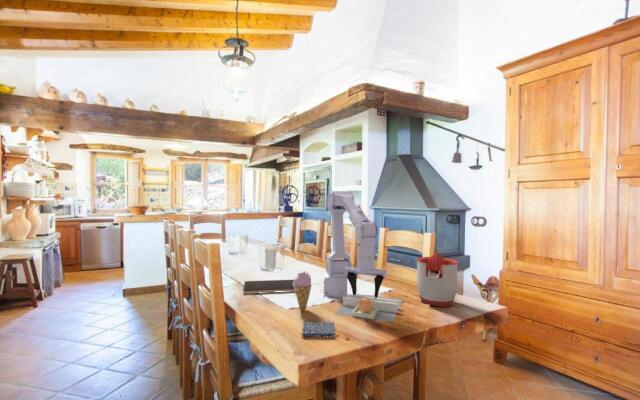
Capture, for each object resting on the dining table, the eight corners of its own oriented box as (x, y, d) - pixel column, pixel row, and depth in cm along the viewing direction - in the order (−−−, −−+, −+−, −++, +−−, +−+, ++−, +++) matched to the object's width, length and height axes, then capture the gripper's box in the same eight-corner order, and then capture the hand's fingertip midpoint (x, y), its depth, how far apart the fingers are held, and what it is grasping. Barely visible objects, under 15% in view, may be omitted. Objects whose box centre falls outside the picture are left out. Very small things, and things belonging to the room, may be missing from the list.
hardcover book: (297, 293, 141) (297, 288, 141) (243, 295, 137) (243, 290, 137) (293, 284, 157) (293, 279, 157) (244, 285, 153) (244, 280, 153)
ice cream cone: (296, 316, 111) (296, 273, 111) (289, 311, 117) (290, 269, 117) (313, 313, 115) (314, 271, 115) (306, 308, 120) (306, 268, 120)
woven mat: (334, 326, 105) (334, 320, 105) (336, 340, 94) (336, 333, 94) (302, 326, 104) (302, 320, 104) (300, 340, 94) (300, 333, 94)
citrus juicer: (411, 306, 124) (411, 254, 124) (420, 294, 139) (420, 248, 139) (455, 313, 116) (456, 257, 116) (459, 300, 132) (460, 251, 132)
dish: (351, 315, 110) (351, 311, 110) (357, 309, 117) (357, 305, 117) (373, 319, 107) (373, 314, 107) (378, 312, 114) (378, 308, 114)
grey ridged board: (334, 316, 112) (334, 304, 112) (355, 296, 136) (355, 286, 136) (392, 325, 104) (392, 313, 104) (403, 302, 129) (403, 292, 129)
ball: (356, 314, 111) (356, 299, 111) (360, 309, 115) (360, 295, 115) (370, 316, 109) (370, 301, 109) (374, 311, 113) (374, 297, 113)
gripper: (342, 256, 111) (341, 296, 111) (384, 260, 106) (383, 301, 106) (348, 253, 118) (347, 290, 118) (388, 256, 112) (387, 295, 112)
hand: (365, 295), depth 112 cm, fingers open, 7 cm apart
